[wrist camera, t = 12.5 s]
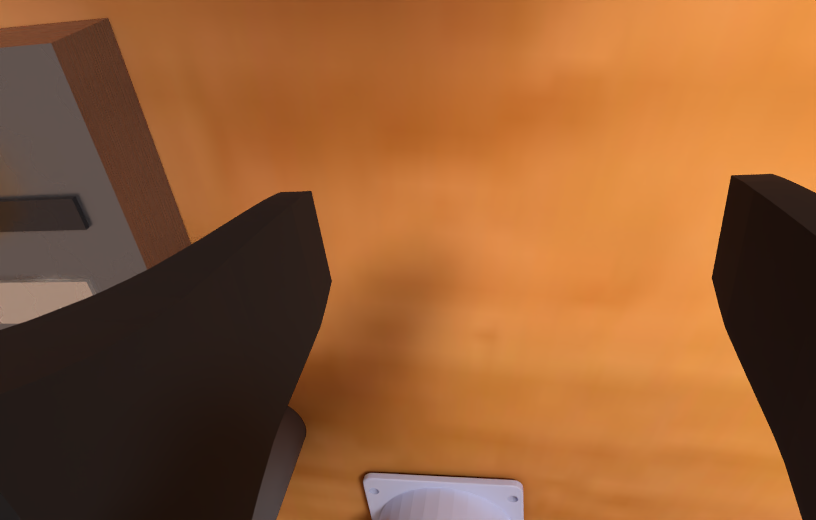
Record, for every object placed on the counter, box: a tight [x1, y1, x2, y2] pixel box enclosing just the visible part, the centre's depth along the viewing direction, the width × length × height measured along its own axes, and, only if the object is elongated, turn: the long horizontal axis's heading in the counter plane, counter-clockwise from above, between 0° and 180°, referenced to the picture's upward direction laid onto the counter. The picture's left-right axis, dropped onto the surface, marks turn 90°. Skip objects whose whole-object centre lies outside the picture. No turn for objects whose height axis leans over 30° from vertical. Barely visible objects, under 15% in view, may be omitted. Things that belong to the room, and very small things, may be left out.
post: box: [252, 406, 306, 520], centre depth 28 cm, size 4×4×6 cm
